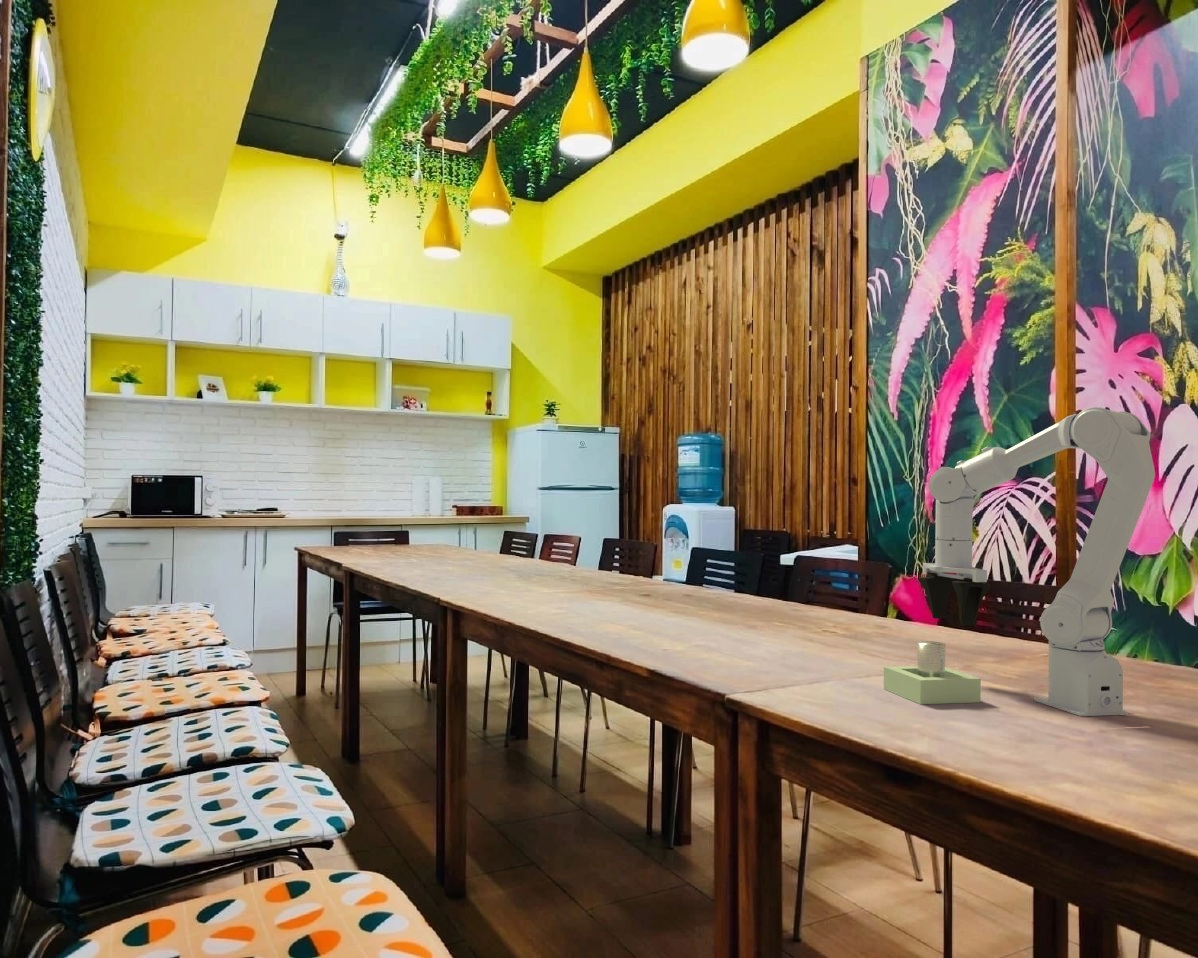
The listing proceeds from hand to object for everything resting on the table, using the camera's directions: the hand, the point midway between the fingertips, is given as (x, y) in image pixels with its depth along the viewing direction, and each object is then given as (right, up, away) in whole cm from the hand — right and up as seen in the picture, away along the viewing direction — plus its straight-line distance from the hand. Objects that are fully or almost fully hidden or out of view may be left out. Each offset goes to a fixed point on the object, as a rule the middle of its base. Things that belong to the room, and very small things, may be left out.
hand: (952, 621), depth 141 cm
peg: (-8, -10, -11) cm, 17 cm away
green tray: (-8, -10, -11) cm, 17 cm away
